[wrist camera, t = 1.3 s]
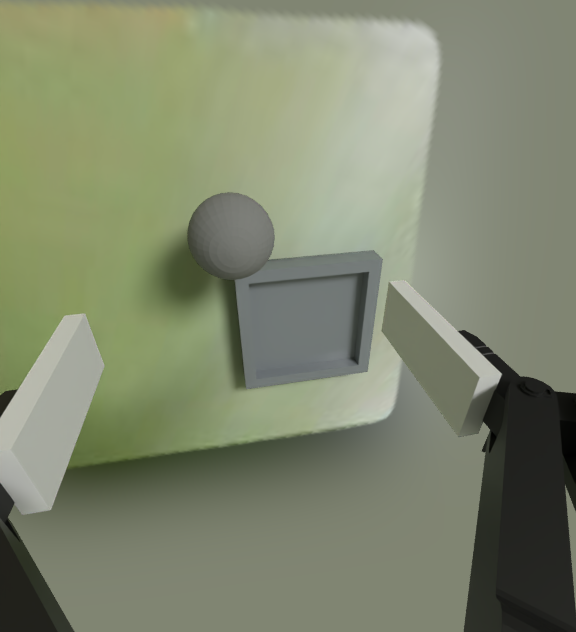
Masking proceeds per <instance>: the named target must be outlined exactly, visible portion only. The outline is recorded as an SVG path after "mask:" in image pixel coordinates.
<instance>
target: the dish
mask: <svg viewBox="0 0 576 632" xmlns="http://www.w3.org/2000/svg"><path fill="white" fill-rule="evenodd" d="M382 260H383V259H382V258H381V257H380V256H379V255H378V254H377V253H376V252H375V251H374V250H373V251H362V252H351V253H340V254H328V255H317V256H306V257H295V258H284V259H273V260H268V261H267V262H266V264H265V265H264V266H263V267H262V268H261V269H260V270H259V271H257V272H256V273H255V274H253V275H251V276H249V277H246V278H243V279H236V280H234V281H235V290H236V300H237V309H238V319H239V329H240V338H241V348H242V357H243V367H244V376H245V384H246V389H251V388H258V387H265V386H272V385H279V384H286V383H293V382H300V381H307V380H314V379H320V378H327V377H334V376H341V375H348V374H355V373H362V372H367V371H368V364H369V357H370V349H371V342H372V334H373V327H374V320H375V312H376V305H377V297H378V290H379V283H380V275H381V268H382Z"/></svg>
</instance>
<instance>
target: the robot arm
mask: <svg viewBox="0 0 576 632" xmlns="http://www.w3.org/2000/svg"><path fill="white" fill-rule="evenodd" d="M382 332H383V333H384V335H385V336H386V338H387V339H388V340H389V342H390V343H391V345H392V346H393V347H394V349H395V350H396V351H397V353H398V354H399V356H400V357H401V358H402V360H403V361H404V362H405V364H406V365H407V366H408V368H409V369H410V370H411V372H412V373H413V375H414V376H415V378H416V379H417V381H418V382H419V383H420V384H421V386H422V387H423V389H424V390H425V391H426V393H427V394H428V396H429V397H430V398H431V400H432V401H433V403H434V404H435V405H436V407H437V408H438V410H439V411H440V412H441V414H442V415H443V416H444V418H445V419H446V421H447V422H448V423H449V425H450V426H451V427H452V429H453V430H454V432H455V433H456V434H457V436H458V437H462V436H467V435H473V434H478V433H479V431H480V428H481V425H482V423H483V422H484V423H485V424H486V425H487V426H488V428H489V429H490V432H489V435H488V437H487V439H486V442H485V444H484V446H483V449H482V451H483V452H486V455H485V462H484V470H483V478H482V486H481V494H480V503H479V511H478V519H477V527H476V536H475V543H474V552H473V560H472V568H471V576H470V584H469V593H468V601H467V609H466V617H465V625H464V632H576V610H575V598H574V586H573V574H572V563H571V551H570V541H569V540H570V539H569V527H568V516H567V504H566V494H565V493H566V492H565V485H566V488H567V490H568V493H569V495H570V498H571V501H572V503H573V506H574V508H575V510H576V393H565V392H555V391H554V390H553V389H552V388H551V387H550V386H548V385H547V384H545V383H544V382H542V381H539V380H537V379H534V378H530V377H520V376H519V375H518V374H517V373H516V372H515V371H514V370H512V369H511V368H510V367H509V366H508V365H507V364H506V363H505V362H504V361H503V360H502V359H501V358H500V357H498V356H497V355H496V354H494V353H493V351H492V350H491V349H490V348H489V347H486V345H485V344H484V343H483V342H482V341H481V340H480V339H479V338H478V337H476V336H474V335H473V334H470V333H469V332H467V331H465V330H462V331H457V330H456V329H455V328H454V327H453V326H452V325H451V324H450V323H449V322H447V320H445V319H444V318H443V317H442V316H441V315H440V314H439V313H438V312H437V311H436V310H435V309H434V308H433V307H432V306H431V305H430V304H429V303H428V302H427V301H426V300H425V299H424V298H423V297H422V296H421V295H420V294H418V292H416V291H415V290H414V289H413V288H412V287H411V286H410V285H409V284H408V283H407V282H406V281H405V280H400V281H390V282H389V285H388V292H387V298H386V305H385V312H384V318H383V325H382ZM103 369H104V363H103V361H102V358H101V355H100V353H99V350H98V347H97V344H96V342H95V339H94V336H93V334H92V331H91V328H90V326H89V323H88V320H87V318H86V315H85V314H76V315H66V316H64V317H63V319H62V321H61V322H60V324H59V325H58V327H57V329H56V330H55V332H54V333H53V335H52V337H51V338H50V340H49V341H48V343H47V344H46V346H45V348H44V349H43V351H42V352H41V354H40V356H39V357H38V359H37V360H36V362H35V364H34V365H33V367H32V368H31V370H30V371H29V373H28V375H27V376H26V378H25V379H24V381H23V383H22V384H21V386H20V387H19V389H18V390H11V391H5V392H4V393H3V394H2V395H0V632H74V631H73V629H72V627H71V625H70V623H69V622H68V620H67V618H66V616H65V615H64V613H63V611H62V610H61V608H60V606H59V604H58V602H57V601H56V599H55V597H54V595H53V594H52V592H51V590H50V588H49V587H48V585H47V583H46V582H45V580H44V578H43V576H42V575H41V573H40V571H39V569H38V568H37V566H36V564H35V562H34V561H33V559H32V557H31V555H30V554H29V552H28V550H27V548H26V547H25V545H24V543H23V542H22V540H21V538H20V536H19V535H18V533H17V531H16V529H15V528H14V526H13V524H12V523H11V521H10V520H9V519H8V515H9V514H10V511H11V509H12V507H13V505H14V504H15V506H16V507H17V508H18V510H19V511H20V513H21V514H22V515H26V514H31V513H37V512H43V511H48V510H51V509H52V506H53V503H54V501H55V498H56V495H57V492H58V490H59V487H60V484H61V482H62V479H63V476H64V474H65V471H66V468H67V466H68V463H69V460H70V457H71V455H72V452H73V449H74V447H75V444H76V441H77V439H78V436H79V433H80V431H81V428H82V425H83V422H84V420H85V417H86V414H87V412H88V409H89V406H90V404H91V401H92V398H93V395H94V393H95V390H96V387H97V385H98V382H99V379H100V377H101V374H102V371H103Z"/></svg>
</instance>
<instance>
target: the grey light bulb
mask: <svg viewBox="0 0 576 632" xmlns="http://www.w3.org/2000/svg"><path fill="white" fill-rule="evenodd" d="M274 239H275V237H274V228H273V225H272V222H271V220H270V218H269V216H268V214H267V212H266V211H265V210H264V209H263V207H262V206H261V205H260V204H258V203H257V202H256V201H255V200H253V199H251V198H250V197H248V196H245V195H242V194H239V193H230V192H229V193H220V194H217V195H214V196H212V197H210V198H208V199H206V200H205V201H204V202H203V203H201V204H200V205H199V206H198V208H197V209H196V210H195V212H194V213H193V215H192V217H191V219H190V222H189V227H188V244H189V249H190V251H191V253H192V255H193V257H194V259H195V260H196V262H197V263H198V264H199V265H200V266H201V267H202V268H203V269H204V270H205V271H207V272H208V273H210V274H211V275H213V276H216V277H218V278H222V279H227V280H236V279H243V278H246V277H249V276H251V275H253V274H255V273H256V272H257V271H259V270H260V269H261V268H262V267H263V266H264V265H265V264H266V262H267V261H268V259H269V257H270V255H271V253H272V250H273V247H274Z"/></svg>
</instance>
